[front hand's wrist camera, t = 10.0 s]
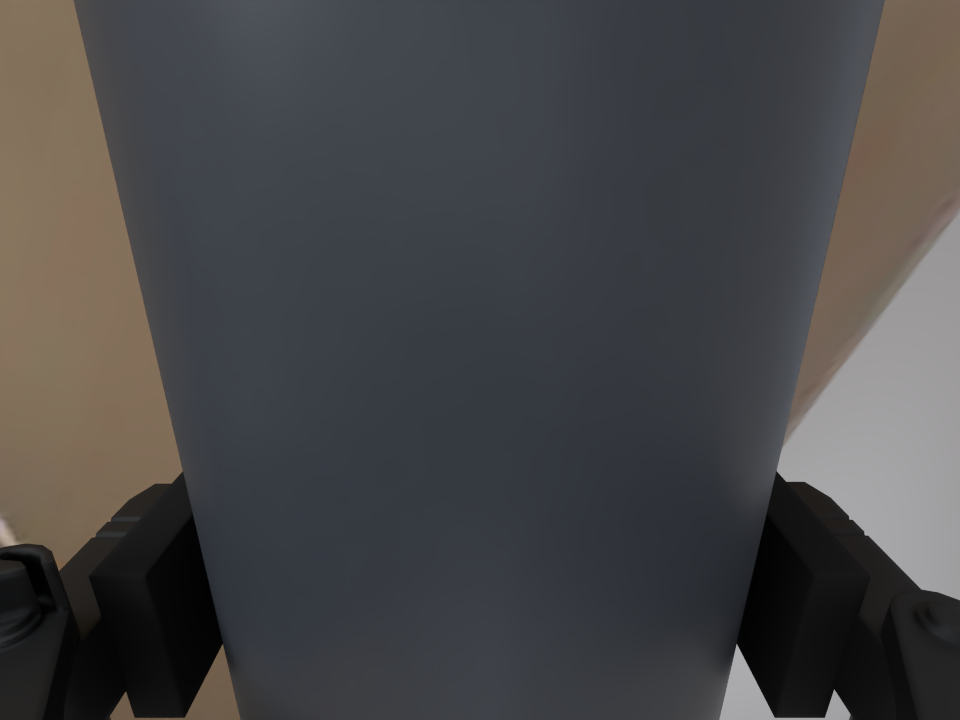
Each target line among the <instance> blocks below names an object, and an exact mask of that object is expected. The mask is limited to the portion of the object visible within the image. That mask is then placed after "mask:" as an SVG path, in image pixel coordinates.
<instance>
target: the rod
mask: <svg viewBox="0 0 960 720" xmlns="http://www.w3.org/2000/svg"><path fill="white" fill-rule="evenodd" d="M884 1H885V0H74V3H75V8H76V12H77V16H78V21H79V25H80V29H81V34H82V38H83V42H84V46H85V51H86V55H87V59H88V64H89V68H90V72H91V77H92V81H93V85H94V90H95V94H96V98H97V103H98V107H99V111H100V115H101V120H102V124H103V128H104V133H105V137H106V141H107V146H108V150H109V154H110V159H111V163H112V167H113V171H114V176H115V180H116V184H117V189H118V193H119V197H120V202H121V206H122V210H123V215H124V219H125V223H126V227H127V232H128V236H129V240H130V245H131V249H132V253H133V258H134V262H135V266H136V271H137V275H138V279H139V283H140V288H141V292H142V296H143V301H144V305H145V309H146V314H147V318H148V322H149V327H150V331H151V335H152V340H153V344H154V348H155V352H156V357H157V361H158V365H159V370H160V374H161V378H162V383H163V387H164V391H165V396H166V400H167V404H168V408H169V413H170V417H171V421H172V426H173V430H174V434H175V439H176V443H177V447H178V452H179V456H180V460H181V464H182V469H183V473H184V477H185V482H186V486H187V490H188V495H189V499H190V503H191V508H192V512H193V516H194V520H195V525H196V529H197V533H198V538H199V542H200V546H201V551H202V555H203V559H204V564H205V568H206V572H207V577H208V581H209V585H210V589H211V594H212V598H213V602H214V607H215V611H216V615H217V620H218V624H219V628H220V633H221V637H222V641H223V645H224V650H225V654H226V658H227V663H228V667H229V671H230V676H231V680H232V684H233V689H234V693H235V697H236V701H237V706H238V710H239V714H240V719H241V720H719V718H720V713H721V709H722V705H723V701H724V696H725V692H726V687H727V683H728V679H729V674H730V670H731V666H732V661H733V657H734V653H735V648H736V644H737V640H738V635H739V631H740V627H741V622H742V618H743V614H744V609H745V605H746V601H747V596H748V592H749V588H750V583H751V579H752V575H753V570H754V566H755V562H756V557H757V553H758V548H759V544H760V540H761V535H762V531H763V527H764V522H765V518H766V514H767V509H768V505H769V501H770V496H771V492H772V488H773V483H774V479H775V475H776V470H777V466H778V462H779V457H780V453H781V449H782V444H783V440H784V435H785V431H786V427H787V422H788V418H789V414H790V409H791V405H792V401H793V396H794V392H795V388H796V383H797V379H798V375H799V370H800V366H801V362H802V357H803V353H804V349H805V344H806V340H807V336H808V331H809V327H810V323H811V318H812V314H813V309H814V305H815V301H816V296H817V292H818V288H819V283H820V279H821V275H822V270H823V266H824V262H825V257H826V253H827V249H828V244H829V240H830V236H831V231H832V227H833V223H834V218H835V214H836V210H837V205H838V201H839V196H840V192H841V188H842V183H843V179H844V175H845V170H846V166H847V162H848V157H849V153H850V149H851V144H852V140H853V136H854V131H855V127H856V123H857V118H858V114H859V110H860V105H861V101H862V97H863V92H864V88H865V83H866V79H867V75H868V70H869V66H870V62H871V57H872V53H873V49H874V44H875V40H876V36H877V31H878V27H879V23H880V18H881V14H882V10H883V5H884Z"/></svg>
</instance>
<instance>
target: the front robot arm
mask: <svg viewBox="0 0 960 720" xmlns="http://www.w3.org/2000/svg"><path fill="white" fill-rule="evenodd" d="M222 644H223V641H222V637H221V633H220V628H219V624H218V620H217V615H216V611H215V607H214V602H213V598H212V594H211V589H210V585H209V581H208V577H207V572H206V568H205V564H204V559H203V555H202V551H201V546H200V542H199V538H198V533H197V529H196V525H195V520H194V516H193V512H192V508H191V503H190V499H189V495H188V490H187V486H186V482H185V477H184V473H183V472H182V473H181V474H180V475H179V476H178V477H177V478H176V480H175V481H174V482H173V483H172V484H154V485H153V486H151V487H149V488H148V489H146V490H144V491H143V492H141V493H139V494H138V495H136V496H135V497H133V498H131V499H130V500H129V501H128V502H127V503H126V504H125V505H124V506H123V507H122V508H121V509H120V510H119V511H118V512H117V513H116V514H115V515H114V516H113V517H112V518H111V522H107V523H106V524H105V525H104V526H103V527H102V528H101V529H100V530H99V531H98V532H97V533H96V537H95V538H91V539H90V540H89V541H88V542H87V543H86V544H85V545H84V546H83V547H82V548H81V549H80V551H79V552H78V553H77V554H76V555H75V556H74V557H73V558H72V559H71V560H70V561H69V562H68V563H67V564H66V565H65V566H64V567H63V568H62V569H61V570H60V571H58V568H57V565H56V562H55V559H54V556H53V554H52V551H50V550H49V549H47V548H46V547H44V546H43V545H34V544H21V545H14V546H7V547H3V548H0V720H111V718H110V715H111V713H112V712H113V710H114V709H115V707H116V706H117V704H118V702H119V701H120V699H121V698H122V696H123V695H124V693H125V692H127V695H128V698H129V701H130V705H131V708H132V711H133V714H134V717H135V718H185V716H186V714H187V712H188V710H189V708H190V706H191V704H192V702H193V701H194V699H195V697H196V695H197V693H198V691H199V689H200V687H201V685H202V683H203V681H204V679H205V677H206V675H207V673H208V671H209V669H210V667H211V665H212V663H213V661H214V660H215V658H216V656H217V654H218V652H219V650H220V648H221V646H222ZM737 645H738V647H739V649H740V651H741V653H742V654H743V656H744V658H745V660H746V662H747V664H748V666H749V668H750V670H751V672H752V674H753V676H754V678H755V680H756V682H757V684H758V686H759V688H760V690H761V692H762V693H763V695H764V697H765V699H766V701H767V703H768V705H769V707H770V709H771V711H772V713H773V715H774V717H775V718H825V715H826V712H827V709H828V706H829V703H830V700H831V697H832V694H833V691H834V689H835V691H836V692H837V694H838V695H839V697H840V698H841V700H842V702H843V703H844V705H845V706H846V708H847V709H848V711H849V712H850V714H851V716H850V719H849V720H960V600H957V599H954V598H952V597H949V596H946V595H943V594H941V593H938V592H932V591H926V590H921V589H920V588H919V587H918V586H917V585H916V584H915V583H914V582H913V581H912V580H911V579H910V578H909V577H908V576H907V575H906V574H905V573H904V572H903V571H902V570H901V569H900V568H899V567H898V565H896V563H895V562H894V561H893V560H892V559H891V558H890V557H889V556H888V555H887V554H886V553H885V552H884V551H883V550H882V549H881V548H880V547H879V546H878V545H877V544H876V543H875V542H874V541H873V540H872V539H871V538H870V537H869V536H865V535H864V531H863V530H862V529H861V528H860V527H859V526H858V525H857V524H856V523H855V522H854V521H853V520H849V516H848V515H847V514H846V513H845V512H844V511H843V510H842V509H841V508H840V507H839V506H838V505H837V504H836V503H835V502H834V501H833V500H832V499H831V498H830V497H829V496H827V495H825V494H824V493H822V492H820V491H819V490H817V489H815V488H814V487H812V486H810V485H809V484H807V483H805V482H786V481H785V480H784V479H783V478H782V477H781V476H780V475H779V473H778V472H777V471H776V475H775V479H774V483H773V488H772V492H771V496H770V501H769V505H768V509H767V514H766V518H765V522H764V527H763V531H762V535H761V540H760V544H759V548H758V553H757V557H756V562H755V566H754V570H753V575H752V579H751V583H750V588H749V592H748V596H747V601H746V605H745V609H744V614H743V618H742V622H741V627H740V631H739V635H738V640H737Z"/></svg>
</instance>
